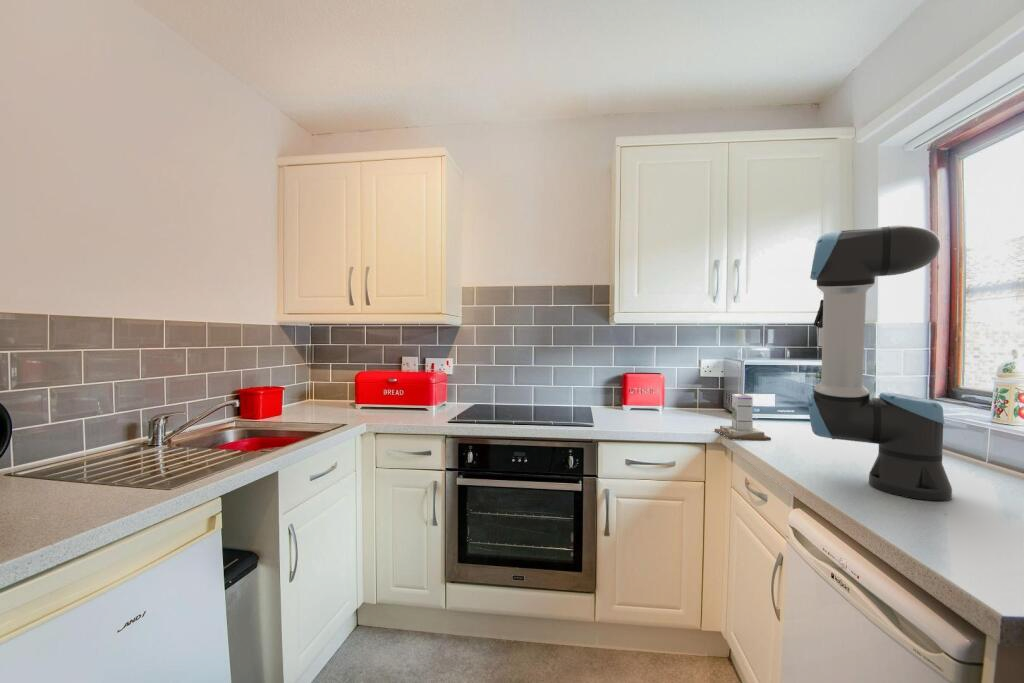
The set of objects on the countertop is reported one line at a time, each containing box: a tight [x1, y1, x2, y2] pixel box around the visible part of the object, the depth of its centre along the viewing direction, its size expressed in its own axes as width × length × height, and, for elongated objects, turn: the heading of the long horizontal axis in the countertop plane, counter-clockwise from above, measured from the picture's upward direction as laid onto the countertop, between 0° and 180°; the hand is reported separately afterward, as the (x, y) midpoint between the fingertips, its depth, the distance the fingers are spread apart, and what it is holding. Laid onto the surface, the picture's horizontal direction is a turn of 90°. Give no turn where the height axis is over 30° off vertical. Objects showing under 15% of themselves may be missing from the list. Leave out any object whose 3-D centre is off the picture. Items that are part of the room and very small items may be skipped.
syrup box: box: [731, 393, 754, 431], centre depth 163 cm, size 6×6×14 cm
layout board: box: [714, 425, 772, 441], centre depth 164 cm, size 14×14×2 cm
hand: (836, 346), depth 147 cm, fingers open, 13 cm apart
